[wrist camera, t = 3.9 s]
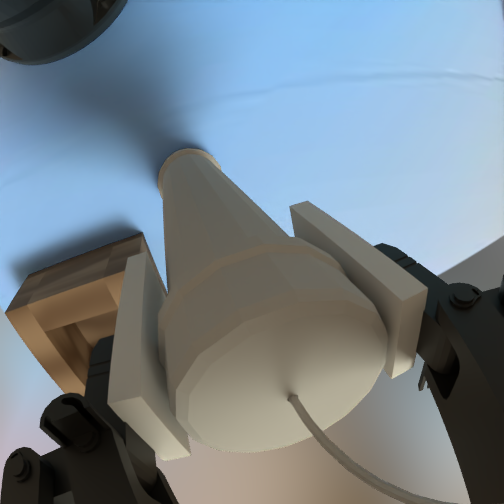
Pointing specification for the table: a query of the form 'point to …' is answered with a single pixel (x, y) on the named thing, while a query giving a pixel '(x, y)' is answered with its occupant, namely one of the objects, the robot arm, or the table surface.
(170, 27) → the table surface
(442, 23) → the table surface
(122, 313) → the robot arm
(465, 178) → the table surface
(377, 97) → the table surface
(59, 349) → the socket block
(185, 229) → the cream tapered cylinder
